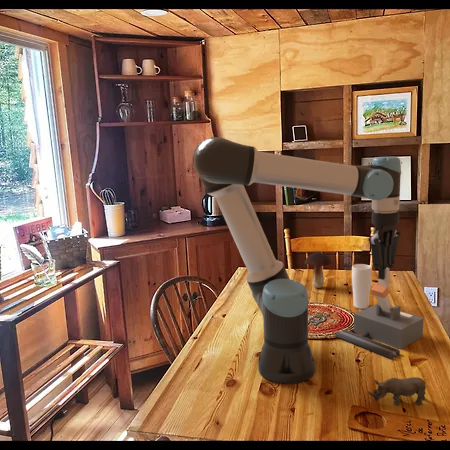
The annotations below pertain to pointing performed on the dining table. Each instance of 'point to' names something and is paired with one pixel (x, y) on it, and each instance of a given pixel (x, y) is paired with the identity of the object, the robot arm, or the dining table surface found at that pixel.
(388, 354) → the cable bundle
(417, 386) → the rhino figurine
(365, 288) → the tall cup
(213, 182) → the robot arm
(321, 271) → the decorative mushroom
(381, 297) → the toggle lever
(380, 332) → the switch block
